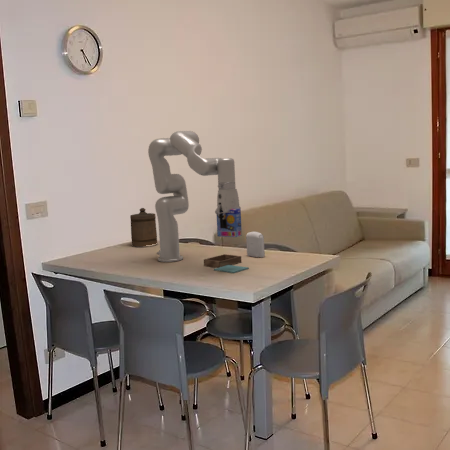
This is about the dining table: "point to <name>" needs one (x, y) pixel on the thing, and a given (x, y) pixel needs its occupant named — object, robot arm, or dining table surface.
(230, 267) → the teal mat
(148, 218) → the wooden container
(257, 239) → the photo printer
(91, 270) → the dining table surface
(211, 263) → the walnut frame
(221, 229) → the ink cartridge box
